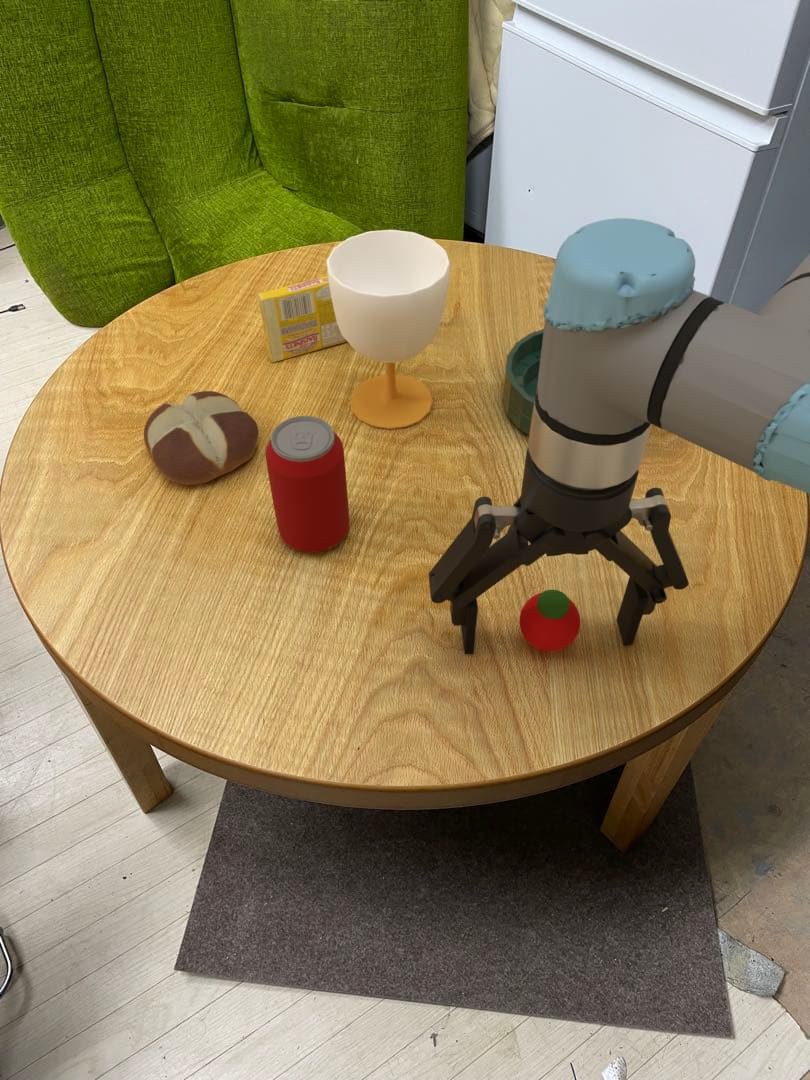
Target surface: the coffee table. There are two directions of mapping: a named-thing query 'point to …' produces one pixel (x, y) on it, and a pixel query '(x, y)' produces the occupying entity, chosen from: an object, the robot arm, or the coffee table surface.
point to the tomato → (549, 621)
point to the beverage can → (308, 483)
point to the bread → (200, 437)
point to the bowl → (522, 379)
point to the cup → (389, 316)
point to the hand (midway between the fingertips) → (546, 636)
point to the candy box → (299, 319)
